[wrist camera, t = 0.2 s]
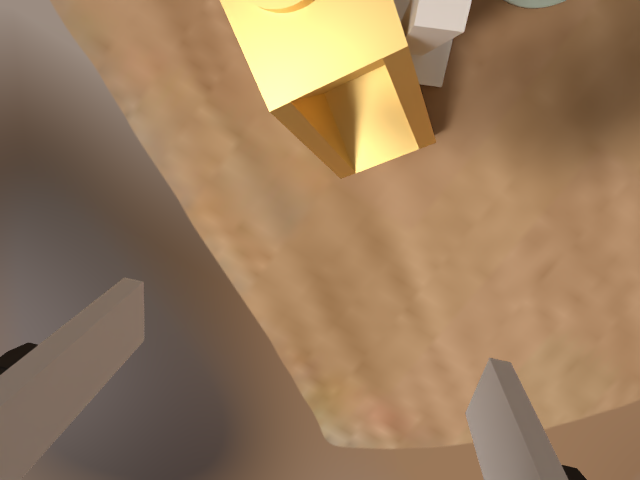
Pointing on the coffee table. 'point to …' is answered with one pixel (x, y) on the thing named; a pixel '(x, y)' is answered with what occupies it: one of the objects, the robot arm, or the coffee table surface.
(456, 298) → the coffee table surface
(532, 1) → the coaster
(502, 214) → the coffee table surface
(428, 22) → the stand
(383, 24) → the clamp
